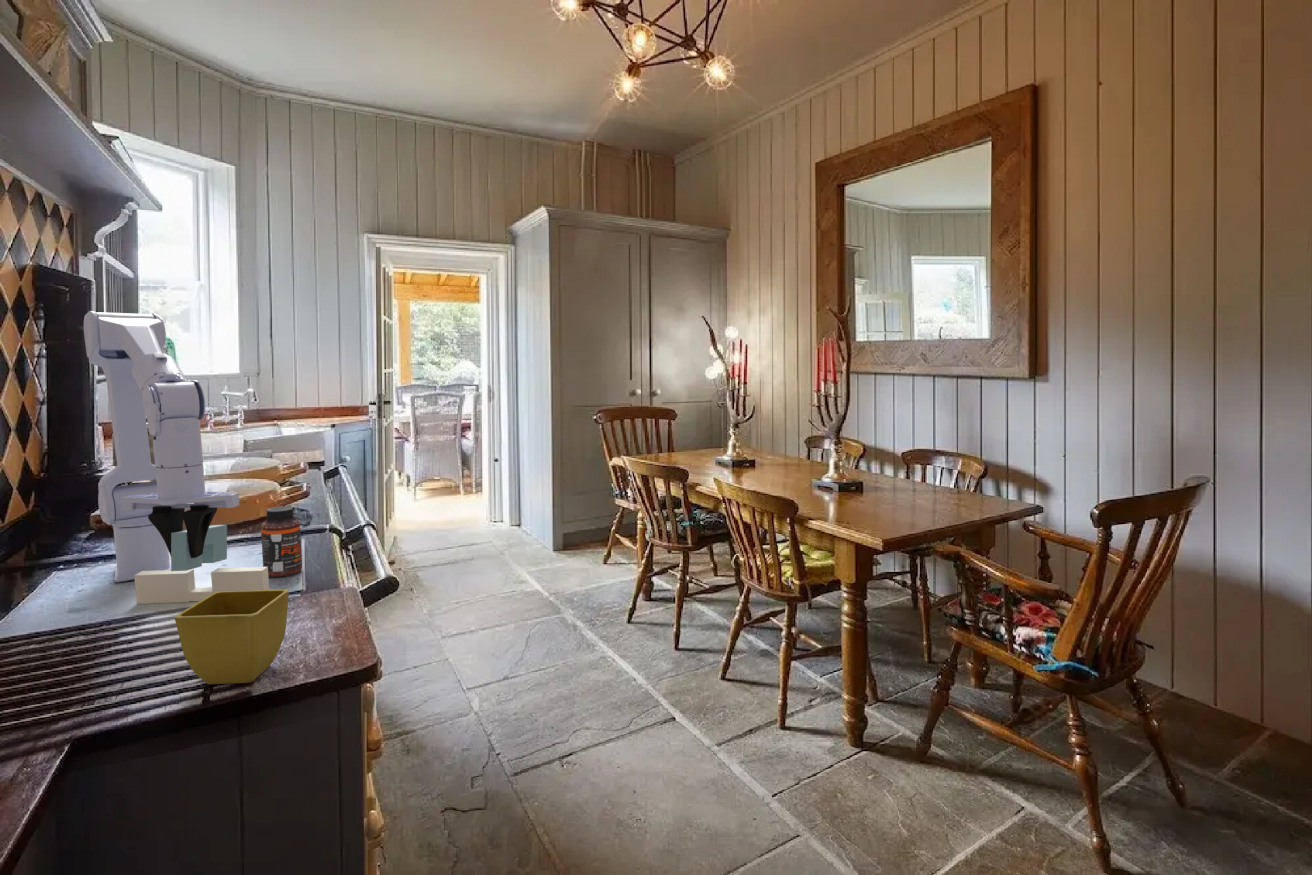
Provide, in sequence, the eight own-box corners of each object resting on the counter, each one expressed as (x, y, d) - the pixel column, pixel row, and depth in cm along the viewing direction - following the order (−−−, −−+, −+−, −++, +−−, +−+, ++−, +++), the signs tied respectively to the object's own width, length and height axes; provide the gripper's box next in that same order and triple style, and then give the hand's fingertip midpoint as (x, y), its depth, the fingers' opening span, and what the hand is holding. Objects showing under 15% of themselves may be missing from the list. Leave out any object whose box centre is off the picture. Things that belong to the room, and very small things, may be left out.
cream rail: (136, 604, 104) (134, 575, 103) (144, 599, 106) (142, 570, 105) (264, 598, 106) (262, 570, 105) (269, 594, 108) (267, 566, 107)
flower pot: (221, 659, 85) (216, 589, 84) (294, 657, 86) (290, 588, 85) (178, 694, 76) (172, 617, 75) (260, 691, 77) (255, 614, 76)
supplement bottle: (286, 579, 115) (281, 513, 114) (255, 576, 116) (250, 511, 115) (310, 568, 121) (306, 505, 119) (281, 566, 122) (276, 503, 121)
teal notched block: (213, 559, 110) (213, 525, 111) (226, 559, 111) (226, 524, 111) (171, 571, 99) (171, 532, 99) (186, 570, 99) (186, 532, 99)
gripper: (106, 470, 94) (115, 566, 96) (219, 468, 96) (227, 562, 98) (137, 462, 101) (145, 552, 103) (242, 460, 103) (249, 548, 105)
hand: (187, 556), depth 101 cm, fingers closed on teal notched block, 2 cm apart
